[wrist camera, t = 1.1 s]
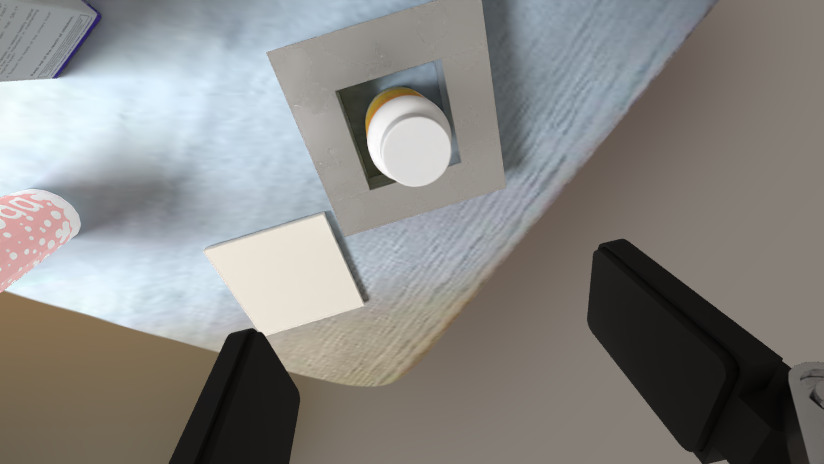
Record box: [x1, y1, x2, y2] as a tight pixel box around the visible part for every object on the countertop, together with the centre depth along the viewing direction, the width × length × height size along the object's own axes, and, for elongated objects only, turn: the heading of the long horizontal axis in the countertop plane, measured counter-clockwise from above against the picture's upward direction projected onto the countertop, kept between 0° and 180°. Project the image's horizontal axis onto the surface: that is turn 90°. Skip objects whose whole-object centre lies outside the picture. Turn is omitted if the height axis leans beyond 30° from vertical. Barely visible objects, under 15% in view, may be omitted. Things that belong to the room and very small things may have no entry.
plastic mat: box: [203, 212, 364, 336], centre depth 32 cm, size 11×11×1 cm
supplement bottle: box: [365, 86, 452, 187], centre depth 23 cm, size 5×5×10 cm
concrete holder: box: [266, 0, 506, 237], centre depth 26 cm, size 14×14×3 cm
